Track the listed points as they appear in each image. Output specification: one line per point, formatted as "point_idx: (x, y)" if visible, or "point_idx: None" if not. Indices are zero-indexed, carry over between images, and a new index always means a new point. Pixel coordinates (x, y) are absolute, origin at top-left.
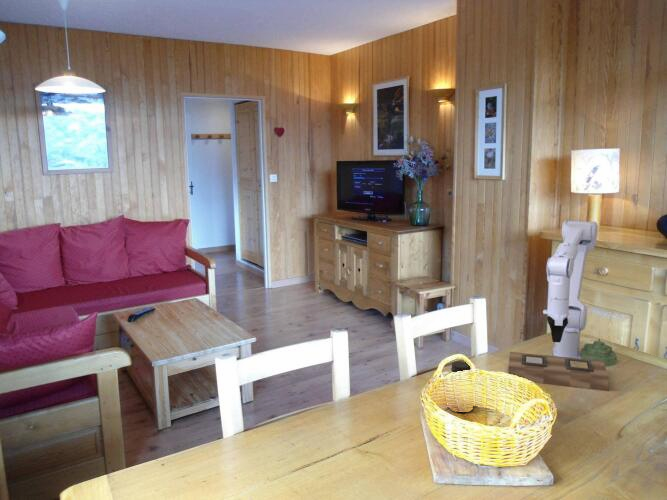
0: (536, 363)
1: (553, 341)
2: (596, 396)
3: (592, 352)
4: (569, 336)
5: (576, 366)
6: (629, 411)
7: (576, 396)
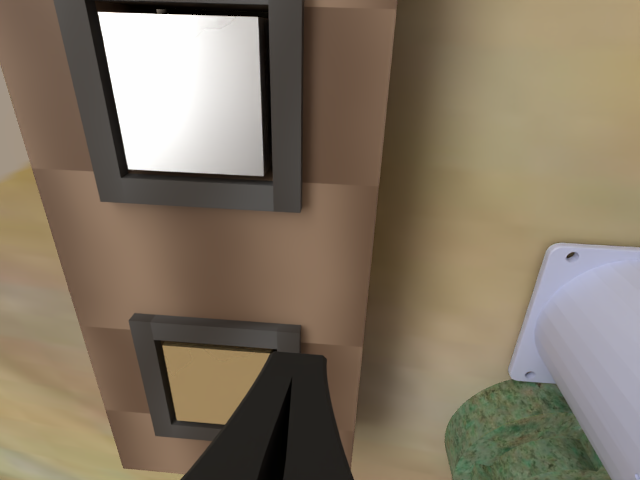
0: (106, 118)
1: (267, 361)
2: (78, 361)
3: (515, 465)
4: (622, 465)
5: (181, 373)
6: (9, 430)
7: (29, 289)
